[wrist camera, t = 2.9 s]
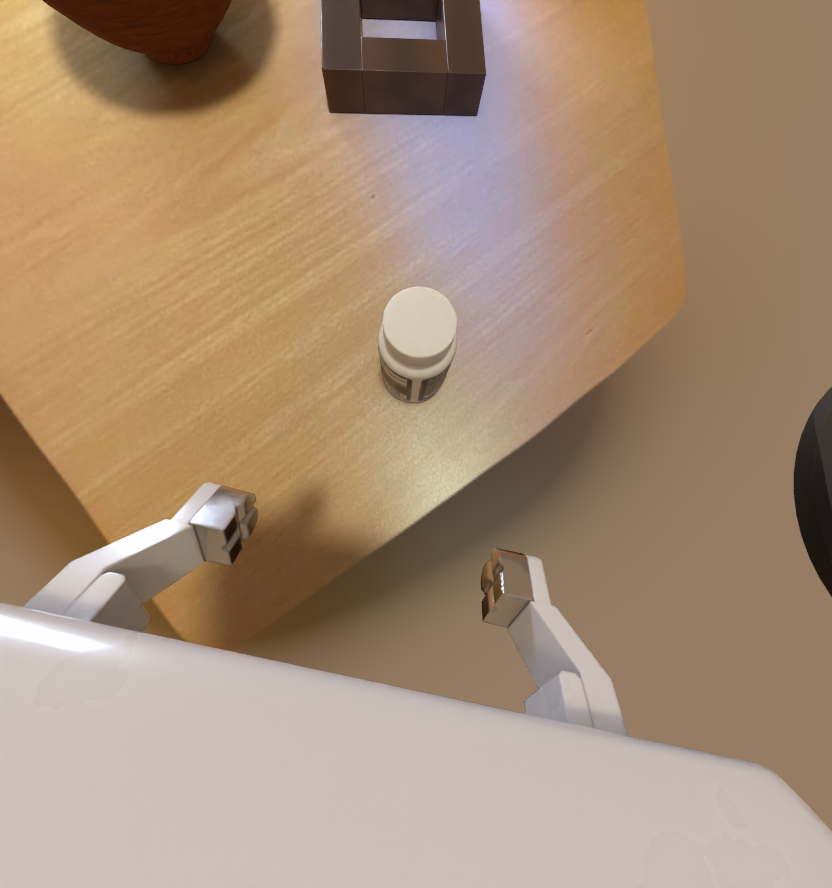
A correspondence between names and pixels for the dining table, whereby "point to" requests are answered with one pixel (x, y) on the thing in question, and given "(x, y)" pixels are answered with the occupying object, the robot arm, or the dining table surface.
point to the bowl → (149, 24)
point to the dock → (403, 58)
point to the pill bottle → (417, 343)
